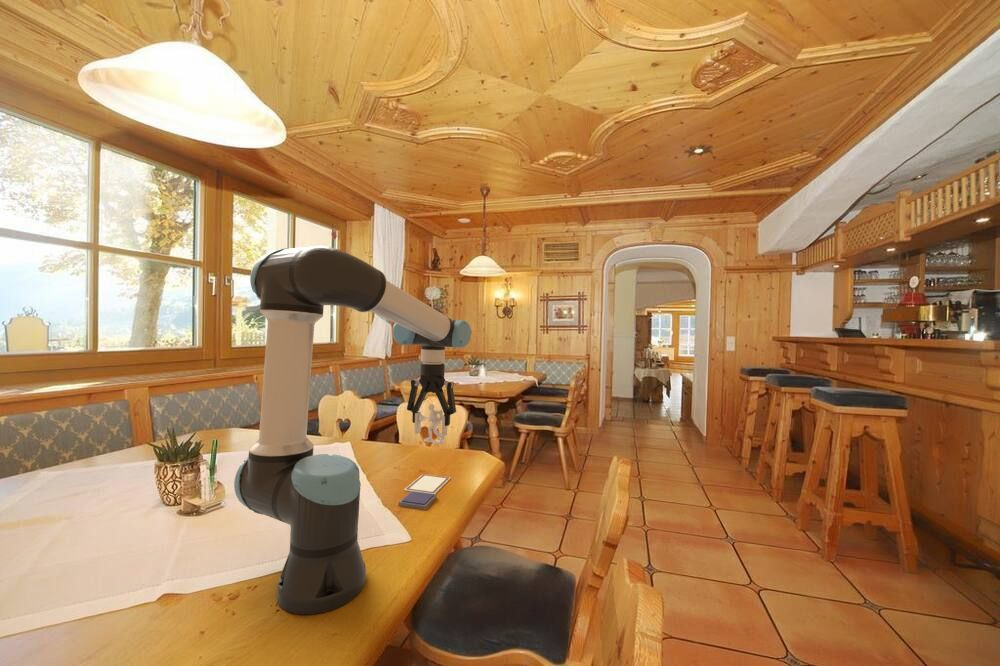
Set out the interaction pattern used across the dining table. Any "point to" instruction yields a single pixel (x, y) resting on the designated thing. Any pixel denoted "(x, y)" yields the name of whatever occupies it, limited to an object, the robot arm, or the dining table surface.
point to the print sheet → (427, 484)
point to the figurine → (433, 425)
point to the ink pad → (417, 500)
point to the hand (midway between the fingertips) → (430, 434)
